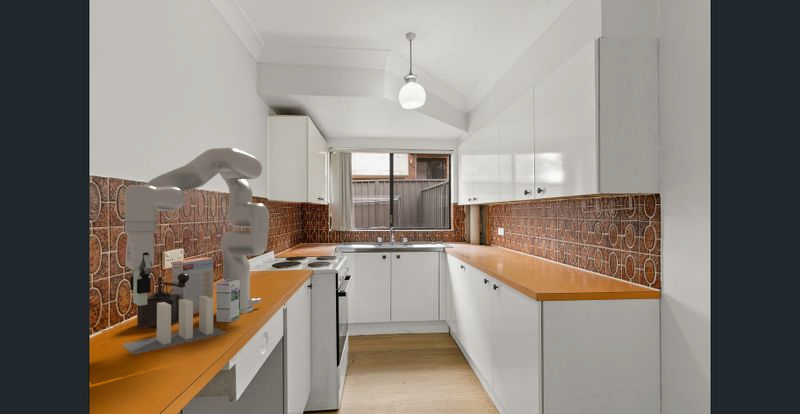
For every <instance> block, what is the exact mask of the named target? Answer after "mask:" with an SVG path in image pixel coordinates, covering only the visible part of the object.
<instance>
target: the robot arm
mask: <svg viewBox="0 0 800 414" xmlns="http://www.w3.org/2000/svg"><path fill="white" fill-rule="evenodd" d="M262 173H263V166H262V163H261V161H260V160H259V159H258V158H257V157H255V156H254V155H251V154H249V153H247V152H245V151H243V150H239V149H238V148H233V147H217V148H216V147H215V148H209V149H207V150H205V151H203V152H202V153H201V154H199V155H198V156H196V157H195V158H193V159H192V160H191V161H189V162H188V163H186V164H185V165H182V166H180V167H178V168H175V169H173V170H170V171H168V172H165V173H163V174H160V175H158V176H156V177H154V178H153V179H150V180H149V181H147V182H146V183H145V184H131V185H130V184H129V185H128V186H127V187H126V188H125V199H124V200H125V203H124V205H125V208H124V210H125V215H124V234H126V235H127V237H126V247H125V266H126V267H127V268H128V269H130V278H129V280H130V281H129V282H130V283H129V285H130V288H129V290H130V291H133V270H134V269H136V267H137V269H138V279H137V293H138V294H141V293H147V294H148V293H151V285H152V283H151V282H152V279H151V278H152V275H151V271H152V270H151V269H152V267H154V264H155V245H154V244H155V243H154V241H155V240H154V234H157V225H158V224H157V223H158V222H157V221H158V219H157V218H158V217H157V215H158V214H157V212H158V211H159V212H171V211H178V210H180V209H181V208H182V207H183V206H184V205H185V203H186V199H187V197H186V194H185V192H187V191H190V190H194V189H197V188H200V187H203V186H204V185H206V184H207V183H208V182H209V181H210V180H211V179H213V178H215V176H217V175H218V174H219V176H221V178H222V179H223V180H224V182H225V183H226V185H227V187H228V190H229V191H228V192H229V197H228V198H229V199H228V207H227V208H228V209H227V222H228V224H229V226H232V227H235V228H250V230H241V229H240V230H238V229H237V230H236V229H235V230H229V231H227V232H225V233H224V234H223V235H222V237H221V239H220V249H221V254H222V263H223V276H222V277H223V279H222V281H224V280H226V279H237V280H240V315H241V314H245V313H247V314H248V313H251V312H253V311H254V310H255V307H254V305H255V304H261V303H262V298H260V297H258V298H252V297H250V294H251V293H250V284H251V283H250V282H251V281H250V279H251V278H250V277H251V276H250V275H251V270H250V269H251V268H250V267H251V265H250V262H249V259H248V258H247V256H261V255H263V254H264V253H265V251H266V249H267V247H268V246H267V245H268V238H269V228H270V227H269V226H270V212H269V209H268V207H267V206H266V205H264V203H260V202H259V203H258V202H253V189H252V186H251V185H250V184H249V181H248V180H256V179H257V178H259V177H260V176H261V174H262ZM140 266H144V267H142V268H140ZM141 270H142V273H141Z"/></svg>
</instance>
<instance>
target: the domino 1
mask: <svg viewBox="0 0 800 414" xmlns="http://www.w3.org/2000/svg"><path fill="white" fill-rule="evenodd" d="M142 267H144V266H140V268H142ZM141 273H142V270H141ZM137 279H138V269H137V267H136V269H134V270H133V290H132V303H133V304H135V305H136V306H137V307H138V306H141V305H147V296H148V293H141V294H138V293H137Z"/></svg>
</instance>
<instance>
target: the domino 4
mask: <svg viewBox="0 0 800 414" xmlns="http://www.w3.org/2000/svg"><path fill="white" fill-rule="evenodd" d="M198 318H199V319H198V322H199V323H198V328H199V331H200V332H202V333H204V334H206V335H208V334H212V333H213V327H214V297H213V298H211V297H208V296H200V297H199V315H198Z"/></svg>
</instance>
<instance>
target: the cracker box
mask: <svg viewBox="0 0 800 414" xmlns="http://www.w3.org/2000/svg"><path fill="white" fill-rule="evenodd" d="M171 265H172V266H171V267H172V269H171V271H172V272H171V275H172V277H171V279H172V280H171V283H174V284H178V279H177V276H178V275H179V274H181V273H186V274H188V275H189V280H188V281H187V282H186V283H185V285H186V287H182V288H180V287H177V286H171V288H172V292H171V294H179V300H181V299H188V300H190V301H193V317H195V316H199V297H200V296H208V297H211V298H213V299H214V258H213V257H197V258H189V259H182V260H177V261H172V262H171Z"/></svg>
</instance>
